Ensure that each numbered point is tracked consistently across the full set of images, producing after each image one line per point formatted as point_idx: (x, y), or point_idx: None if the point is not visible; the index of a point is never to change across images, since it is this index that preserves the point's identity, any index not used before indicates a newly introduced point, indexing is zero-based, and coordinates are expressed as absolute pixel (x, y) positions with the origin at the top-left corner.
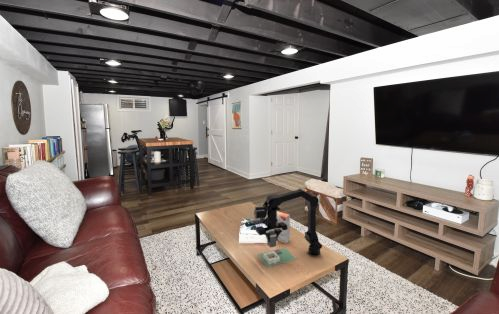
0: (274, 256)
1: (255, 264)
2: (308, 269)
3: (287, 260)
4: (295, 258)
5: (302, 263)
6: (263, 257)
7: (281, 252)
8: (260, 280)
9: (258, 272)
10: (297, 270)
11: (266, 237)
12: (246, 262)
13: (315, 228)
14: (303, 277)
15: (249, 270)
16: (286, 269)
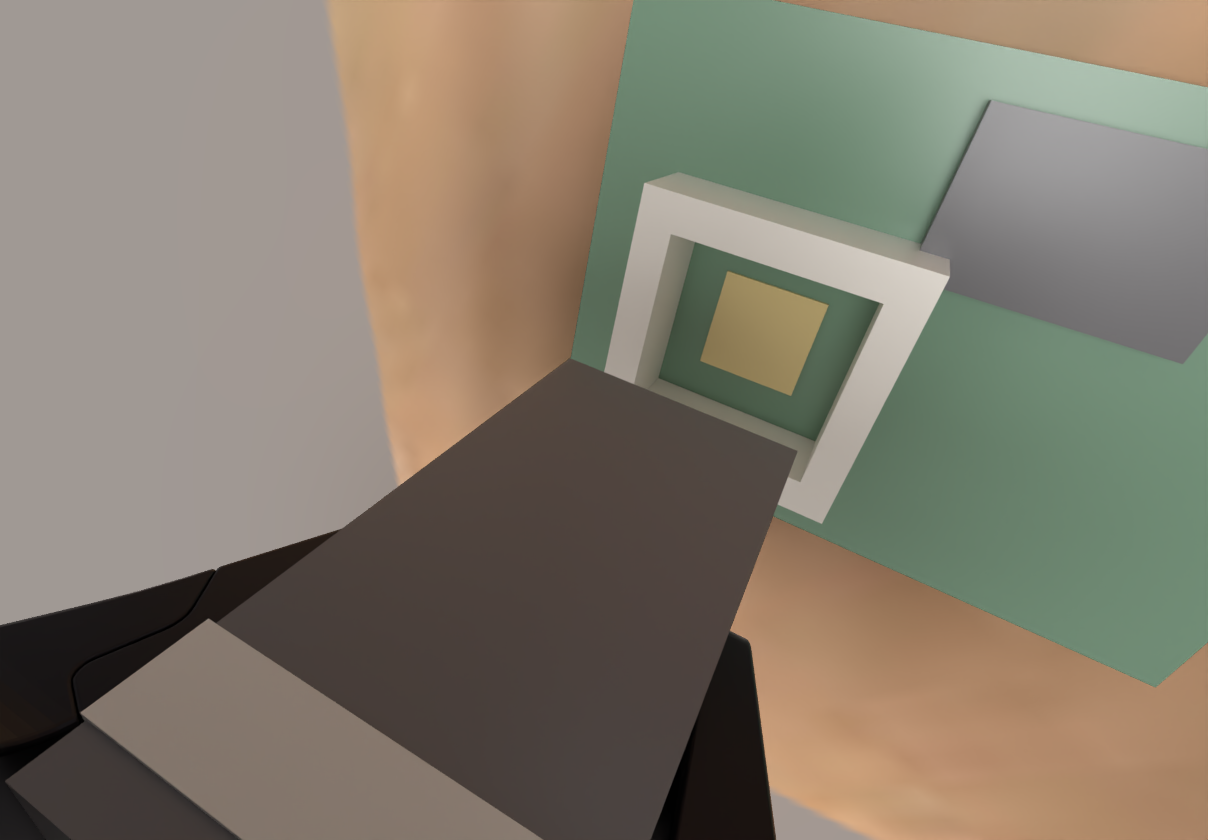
0: (867, 331)
1: (503, 194)
2: (1022, 829)
3: (964, 569)
4: (1163, 665)
5: (1133, 747)
6: (676, 174)
7: (1166, 356)
8: (420, 465)
9: (457, 363)
10: (879, 718)
11: (243, 589)
12: (410, 36)
13: None
14: (809, 791)
15: (384, 250)
16: (781, 601)
